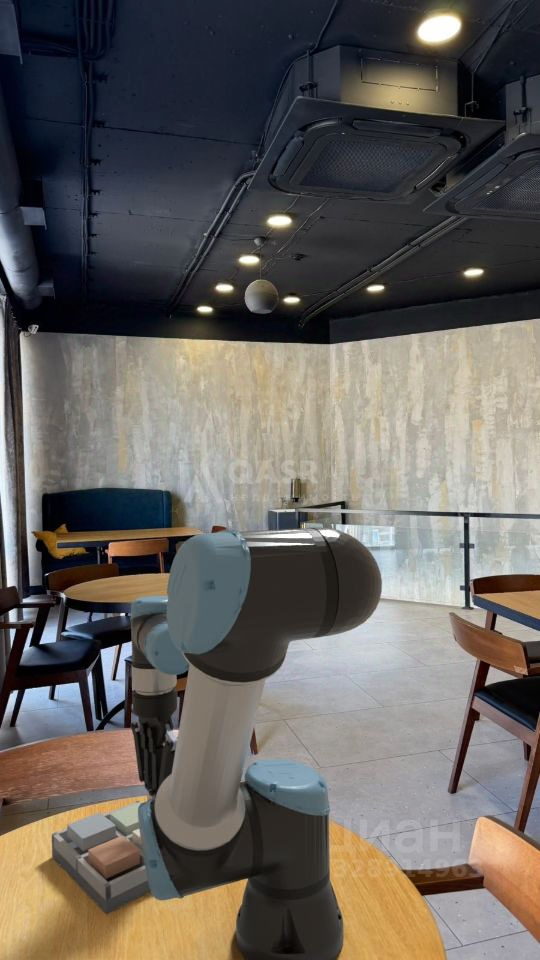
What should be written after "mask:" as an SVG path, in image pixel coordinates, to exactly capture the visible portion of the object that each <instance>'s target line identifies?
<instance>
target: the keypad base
mask: <svg viewBox="0 0 540 960" xmlns="http://www.w3.org/2000/svg"><path fill="white" fill-rule="evenodd" d="M139 802H140V803H143V802H141V801H140V800H136V801H134V802H132V803H128V804H126V805H123V806H121V807H119V808H116V809H113V810H111V811H110V810H109V811H107V812H106V813H101V814H102V815H104V816H105V817H106V818H107V819H109V820H110V814H111V813H113V812H116V811H119V810H121V809H124V808H126V807H129V806H131V805H134V804H137V803H139ZM120 836H123V837H124V838H125V839H126V840H128V841H129V842H130V843H131V844H132V845H134V846H135V847H136V848H137V849H138V850H140V863H139V864H137V865H135V866H133V867H131V868H128V869H126V870H124V871H122V872H120V873H117V874H115V875H113V876H111V877H109V878H107V879H105V878H104V877H103V876H102V875H101V874H100V873H99V872H98V871H97V870H96V869H95V868H94V867H93V866H92V865H91V864H90V863H89V862H88V850H89V849H91V848H94V847H96V846H98V845H96V846H94V847H91V848H89V849H87V850H84V851H82V850H81V849H80V848H79V847H78V846H77V845H76V844H75V843H74V842H73V841H72V840H71V839H70V838H69V837H68V836H67V827H66V828H63V829H61V830H59V831H56V832H54V833H51V857H52V859H53V860H54V861H55V862H56V863H57V864H58V865H59V866H60V867H61V868H62V869H63V870H64V872H66V874H67V875H68V876H70V878H71V879H72V880H73V881H74V882H75V883H76V884H77V885H78V887H80V889H81V890H83V891H84V893H86V895H88V897H89V898H90V899H91V900H92V901H93V902H94V903H95V904H96V906H98V907H99V908H100V910H102V911H103V913H104V914H105V915H106V914H107V915H108V914H109V913H111V912H114V911H115V910H117V909H120V908H121V907H123V906H125V905H127V904H129V903H131V902H133V901H136V900H138V899H139V898H141V897H143V896H145V895H147V894H149V893H151V891H150V887H149V883H148V879H147V874H146V868H145V863H144V857H143V851H142V850H141V849H140V848H139V847H137V846H136V845H135V844H134V843H133V841H132V834H130V835H128V836H126V837H125V836H124V835H123V834H121V833H120V832H119V831H118V830H116V837H115V838H118V837H120ZM115 838H113V839H115ZM113 839H111V840H113ZM108 841H110V840H108ZM108 841H106V842H108ZM106 842H103V843H106ZM103 843H101V844H103ZM101 844H99V845H101Z"/></svg>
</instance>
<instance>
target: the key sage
mask: <svg viewBox="0 0 540 960" xmlns="http://www.w3.org/2000/svg"><path fill="white" fill-rule="evenodd" d="M140 802H141V801H140ZM140 802H139V803H137V804H134V805H131V806H129V807H126V808H124V809H121V810H119V811H116V812H113V813H111V814H110V821H111V822H112V823H114V824H115V825H116V830H118V831H119V832H120V833H121V834H123V835H124V836H125V837H126V836H128V835H130V834H132V831H134V830H137V829H139V821H138V807H139V805H140V804H141V803H140Z"/></svg>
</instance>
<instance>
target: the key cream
mask: <svg viewBox="0 0 540 960" xmlns="http://www.w3.org/2000/svg"><path fill="white" fill-rule="evenodd" d="M132 841H133V843H134V844H135V845H136V846H137V847H139V848H140V849H141V850H142V844H141V837H140V830H139V829H137V830H134V831H132Z"/></svg>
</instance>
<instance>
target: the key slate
mask: <svg viewBox="0 0 540 960" xmlns="http://www.w3.org/2000/svg"><path fill="white" fill-rule="evenodd" d="M102 814H103V813H102V812H96V813H95V814H91V815H89V816H86V817H84V818H81V819H78V820H76V821H73V822H71V823H68V824H67V827H66V828H67V836H68V837H69V838H70V839H71V840H72V841H73V842H74V843H75V844H76V845H77V846H78V847H79V848H80V849H81V850H82V851H84V850H87V849H89V848H91V847H94V846H96V845H99V844H101V843H103V842H106V841H108V840H111V839H113V838H115V837H116V825H115V824H114V823H112V822H111V821H110V820H109V819H107V818H106V817H105V816H104V815H102Z"/></svg>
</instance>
